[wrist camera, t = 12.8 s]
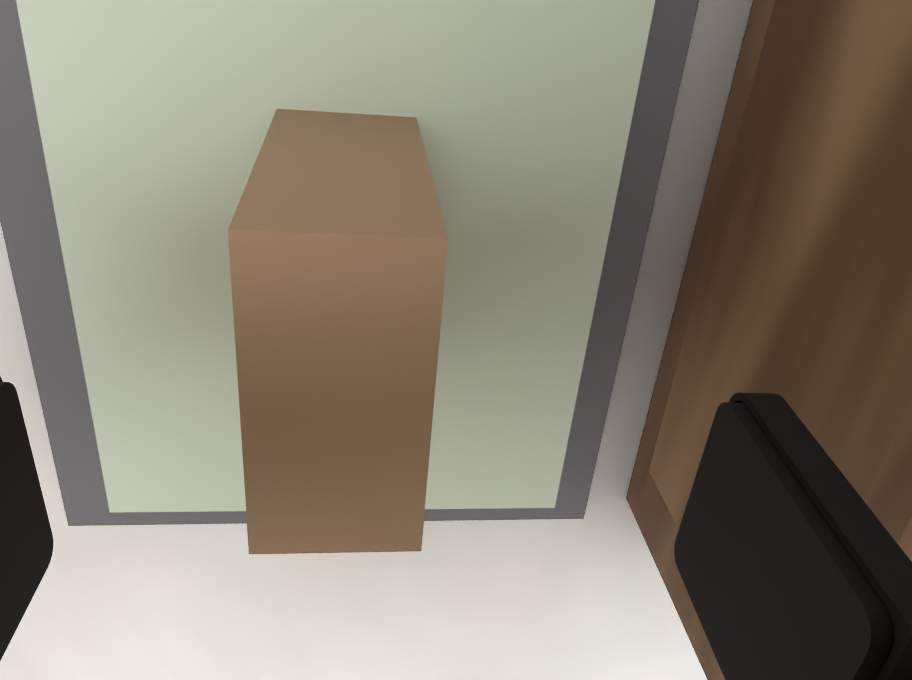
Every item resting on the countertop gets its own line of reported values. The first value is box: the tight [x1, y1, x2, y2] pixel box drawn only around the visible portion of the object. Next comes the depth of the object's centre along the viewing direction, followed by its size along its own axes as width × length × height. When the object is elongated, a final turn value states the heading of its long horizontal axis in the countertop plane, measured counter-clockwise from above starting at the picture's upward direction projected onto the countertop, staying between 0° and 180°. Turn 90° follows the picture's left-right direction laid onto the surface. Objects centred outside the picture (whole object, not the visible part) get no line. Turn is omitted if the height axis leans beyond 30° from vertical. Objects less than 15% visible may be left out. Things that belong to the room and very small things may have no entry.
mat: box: [0, 0, 699, 526], centre depth 19 cm, size 16×20×1 cm
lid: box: [16, 0, 655, 554], centre depth 15 cm, size 13×17×8 cm
